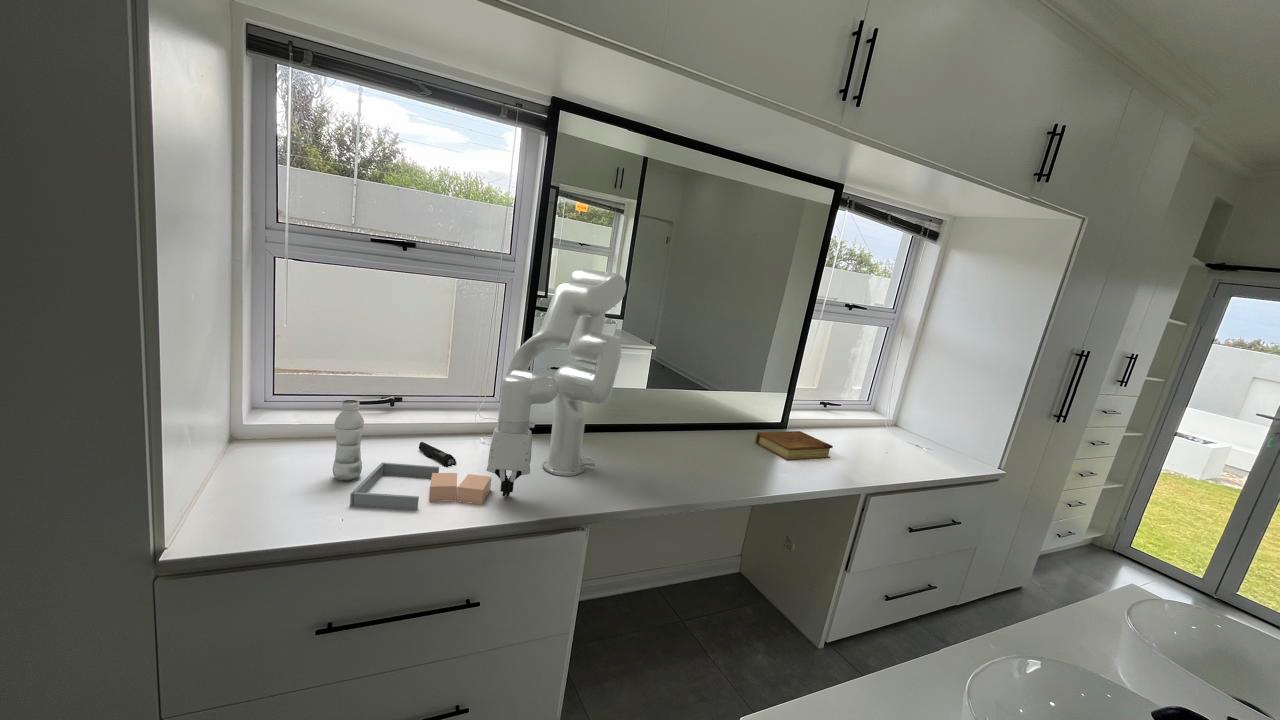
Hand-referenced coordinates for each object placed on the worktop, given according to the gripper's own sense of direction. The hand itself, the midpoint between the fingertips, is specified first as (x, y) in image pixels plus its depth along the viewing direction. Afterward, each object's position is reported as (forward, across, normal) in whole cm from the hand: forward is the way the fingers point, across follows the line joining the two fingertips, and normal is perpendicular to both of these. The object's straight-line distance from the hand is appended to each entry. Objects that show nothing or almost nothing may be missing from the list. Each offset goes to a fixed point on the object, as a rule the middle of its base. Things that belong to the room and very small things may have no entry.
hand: (506, 494), depth 124 cm
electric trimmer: (+2, +23, -22) cm, 32 cm away
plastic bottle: (+1, +40, -5) cm, 40 cm away
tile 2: (+1, +8, 0) cm, 8 cm away
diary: (+1, -105, -58) cm, 120 cm away
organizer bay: (+1, +26, 0) cm, 26 cm away
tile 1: (+1, +15, 0) cm, 15 cm away
